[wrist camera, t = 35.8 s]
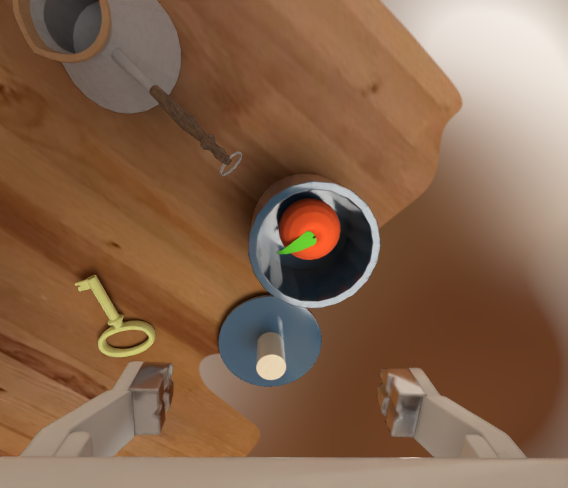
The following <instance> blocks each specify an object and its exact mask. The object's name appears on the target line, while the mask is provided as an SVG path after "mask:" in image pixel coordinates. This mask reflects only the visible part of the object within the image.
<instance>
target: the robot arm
mask: <svg viewBox="0 0 568 488" xmlns="http://www.w3.org/2000/svg"><path fill="white" fill-rule="evenodd" d="M172 374H173V365H172V363H164V362H139V361H131V362H130V363H128V365H127V366H126V368H125V370H124V371H123V373H122V374H121V376H120V377H119V379H118V381H117V382H116V384H115V385H114V387H113V389H112V390H111V391H106V392H104V393H102V394H100V395H99V396H97V397H95V398H94V399H92V400H90V401H88V402H87V403H85V404H83V405H82V406H80V407H78V408H77V409H75V410H73V411H71V412H70V413H68V414H66V415H65V416H63V417H61V418H60V419H58V420H56V421H54V422H53V423H51V424H49V425H48V426H46V427H44V428H42V429H41V430H40V431H39V432H38V433H37V435H36V436H35V437H34V438H33V440H32V441H31V442H30V443H29V445H28V446H27V447H26V448H25V450H24V451H23V452H22V453H21V455H20V456H0V488H568V458H527V457H526V456H525V455H524V454H523V452H522V451H521V450H520V449H519V448H518V447H517V445H516V444H515V443H514V442H513V441H512V439H511V438H510V437H509V436H508V435H507V434H506V433H504V432H503V431H501V430H499V429H498V428H496V427H494V426H493V425H491V424H490V423H488V422H486V421H485V420H483V419H481V418H480V417H478V416H476V415H475V414H473V413H471V412H470V411H468V410H466V409H465V408H463V407H461V406H460V405H458V404H456V403H455V402H453V401H451V400H450V399H448V398H446V397H445V396H440V394H439V393H438V391H437V390H436V389H435V387H434V386H433V385H432V383H431V382H430V380H429V379H428V377H427V376H426V375H425V373H424V372H423V371H422V369H420V368H382V370H381V372H380V379H381V381H382V383H381V384H380V385H379V386H378V389H377V402H378V406H379V409H380V411H381V412H382V413H383V414H384V415H385V416H386V419H385V423H386V425H387V427H388V429H389V432H390V434H391V436H400V437H414V439H415V440H417V441H418V442H419V443H420V444H421V445H422V446H423V447H424V448H425V449H426V450H427V451H428V452H429V453H430V454H431V455H433V456H434V457H435V458H356V457H353V458H352V457H351V458H349V457H347V458H344V457H335V458H333V457H329V458H328V457H326V458H324V457H323V458H322V457H317V458H316V457H113V456H114V455H115V454H116V453H117V452H118V451H119V450H120V449H122V448H123V447H124V446H125V445H126V444H127V443H128V442H129V441H130V440H131V439H132V438H133V437H134V436H135V435H153V434H160V433H161V430H162V427H163V425H164V422H165V412H166V411H168V410H169V408H170V405H171V402H172V397H173V382H172V380H171V376H172Z"/></svg>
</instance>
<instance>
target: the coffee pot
mask: <svg viewBox="0 0 568 488" xmlns="http://www.w3.org/2000/svg"><path fill="white" fill-rule="evenodd" d="M12 5H13V12H14V15H15V18H16V21H17V23H18V26H19V28H20V30H21V32H22V34H23V36H24V38H25V40H26V41H27V43H28V44H29V46H30V48H31V49H32V51H33V52H34V53H35V54H37V55H40V56H42V57H45V58H47V59H51V60H54V61H58V62H62V64H63V66H64V68H65V69H66V71H67V73H68V74H69V76H70V78H71V79H72V81H73V83H74V84H75V85H76V86H77V87H78V88H79V89H80V91H81V92H82V93H83V94H84V95H85V96H86V97H87V98H89V99H90V100H92V101H94V102H95V103H97V104H98V105H100V106H101V107H103V108H106V109H109V110H112V111H114V112H119V113H130V114H132V113H138V112H143V111H147V110H149V109H151V108H153V107H155V106H157V105H159V104H160V105H161V106H162V108H163V109H164V110H165V111H166V112H167V113H168V114H169V115H170V116H171V117H172V118H173V119H174V121H175V122H176V123H177V124H178V125H179V126H180V127H181V128H182V129H183V130H185V131H186V132H188V133H189V134H190V135H192V136H193V137H194V138H196V139H197V140H198V141H200V142H201V147H202V148H203V149H205V150H210V151H211V152H212V153H213V155H214V157H215V158H216V159H218V160H219V161H220V162H222V163H223V165H222V166H221V168H220V171H219V173H220V174H221V176H226V175H228V174H229V173H231V172H232V171H233V170H234V169H235V168H236V167H237V165H238V164H239V163H240V161H241V158H242V153H241V152H235V153H233V154H232V155H231V156H229V155H228V154H227V153H226V151H225V150H224V149H223V148H221V147H219V146H218V145H217V144H216V143H215V137H214V136H213V135H210V134H209V135H207V134H206V132H205V131H204V130H203V129H202V127H201V126H200V125H199V124H198V122H197V121H196V120H195V118H194V117H193V116H192V115H191V114H190V113H189V112H188V111H187V110H185V109H184V108H183V107H182V106H181V105H180V104H178V103H177V102H176V101H175V100H174V99H173V98H171V97H170V96H169V94H170V93H171V91H172V89H173V87H174V86H175V84H176V82H177V79H178V76H179V72H180V68H181V47H180V43H179V39H178V35H177V31H176V29H175V27H174V25H173V23H172V21H171V19H170V17H169V15H168V13H167V12H166V11H165V10H164V9H163V7H162V6H161V5H160V4H159V2H158V1H157V0H12ZM237 154H240V157H239V159H238V161H237V162H236V164H235V165H234V166H233V167H232V168H231V169H230V170H229V171H228V172H226V173H224V174H222V170H223V168H224V166H225V165H229V164H230V163H231V158H232V157H234V156H235V155H237Z"/></svg>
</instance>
